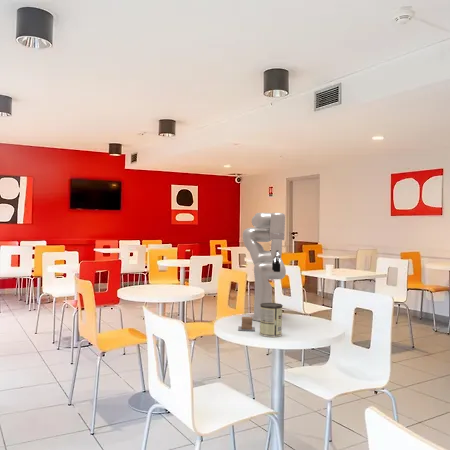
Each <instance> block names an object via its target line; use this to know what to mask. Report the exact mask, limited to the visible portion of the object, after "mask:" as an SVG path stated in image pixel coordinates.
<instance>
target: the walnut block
mask: <svg viewBox="0 0 450 450" xmlns="http://www.w3.org/2000/svg"><path fill="white" fill-rule="evenodd" d="M241 326H242V329H252V327H253V320H252V317H251V316H242V317H241Z"/></svg>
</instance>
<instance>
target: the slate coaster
mask: <svg viewBox="0 0 450 450" xmlns="http://www.w3.org/2000/svg"><path fill="white" fill-rule="evenodd" d="M238 332H256V327H255V326H252V329H242V325H239V326H238Z"/></svg>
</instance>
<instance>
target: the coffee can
mask: <svg viewBox="0 0 450 450" xmlns="http://www.w3.org/2000/svg"><path fill="white" fill-rule="evenodd" d="M260 306H261V309H260V321H259V335H260V336H262V337H267V338H279V337H281V336H282V334H283V333H282V329H283V327H282V326H283V306H284V305H283V304H281V303H278V302H277V303H276V302H272V303H261V304H260Z"/></svg>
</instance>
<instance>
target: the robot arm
mask: <svg viewBox="0 0 450 450" xmlns="http://www.w3.org/2000/svg"><path fill="white" fill-rule="evenodd" d="M251 224H252V226H253V227H247V228H245V229H244V230H243V232H242V240H243V244H244V246H245V248H246V250H247V251H248V252H249V255H250V258H251V261H252V264H253V265H254V266H253V274H254V275H253V277H254V300H253V301H254V302H253V303H254V304H253V315H252V316H250V317H252V321H257V322H260V309H261V306H260V304H261V303H273V287H272V284H271V283H270V281H269V280H283V279H284V278H285V277H286V266H285V263H284V261H283V259H282V254H283V253H282V252H283V241H285V237H286V236H285V235H286V234H285V233H286V215H285V213H284V212H256V213H255V214H254V215H253V217H251ZM269 242H270V243H271V244H270V250H265V249H264V247H263V245H262V244H261V243H269Z"/></svg>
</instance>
